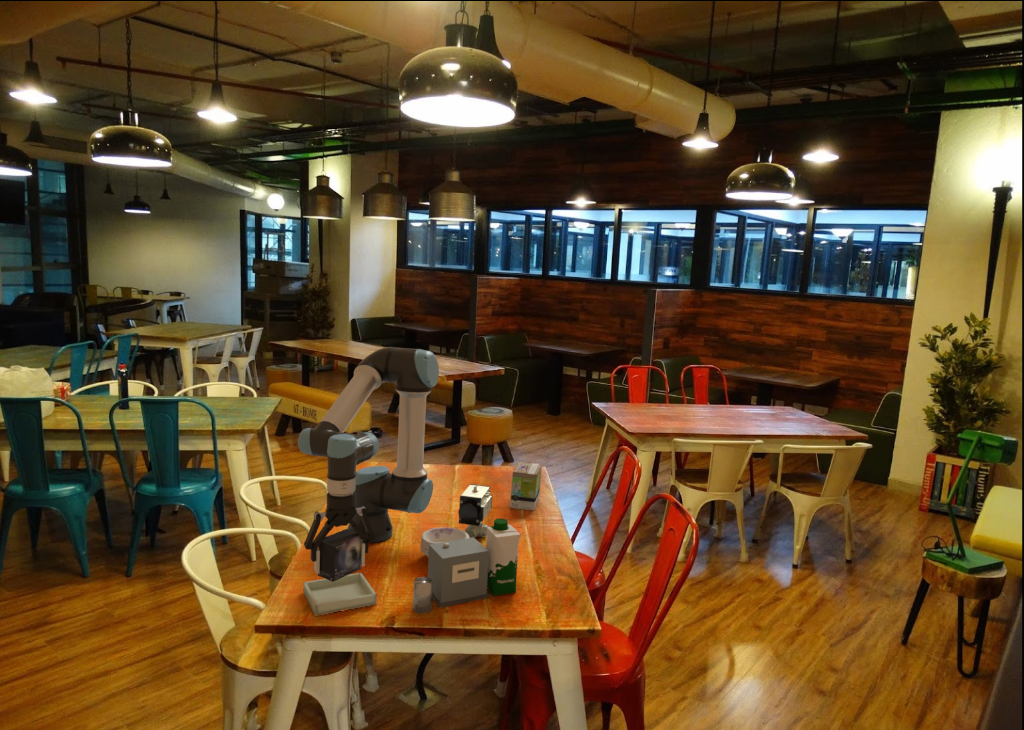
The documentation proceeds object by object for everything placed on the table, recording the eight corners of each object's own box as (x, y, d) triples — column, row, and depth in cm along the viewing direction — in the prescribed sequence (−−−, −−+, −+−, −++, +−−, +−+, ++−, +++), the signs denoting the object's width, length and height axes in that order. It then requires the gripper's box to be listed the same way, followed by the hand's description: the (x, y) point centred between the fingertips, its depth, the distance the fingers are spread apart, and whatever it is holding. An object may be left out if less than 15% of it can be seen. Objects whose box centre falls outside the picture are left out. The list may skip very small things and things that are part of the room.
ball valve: (480, 547, 232) (483, 496, 229) (456, 544, 234) (458, 493, 231) (493, 528, 249) (495, 480, 247) (470, 524, 251) (472, 477, 248)
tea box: (535, 511, 268) (537, 474, 266) (509, 508, 270) (511, 471, 268) (539, 498, 283) (542, 463, 281) (515, 495, 285) (517, 460, 282)
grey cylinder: (410, 606, 191) (411, 578, 190) (427, 602, 194) (428, 575, 192) (416, 614, 187) (417, 586, 186) (434, 611, 189) (435, 583, 188)
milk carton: (508, 580, 210) (511, 516, 207) (520, 593, 202) (524, 528, 198) (480, 584, 206) (483, 519, 203) (492, 598, 198) (495, 531, 195)
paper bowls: (450, 545, 233) (451, 522, 232) (477, 561, 221) (479, 538, 220) (411, 555, 223) (412, 532, 222) (437, 573, 212) (438, 548, 210)
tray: (303, 592, 196) (303, 582, 195) (361, 582, 203) (361, 572, 203) (315, 616, 183) (315, 606, 183) (376, 604, 191) (376, 594, 190)
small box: (333, 583, 186) (334, 545, 184) (316, 576, 189) (317, 539, 188) (362, 569, 195) (362, 533, 193) (345, 563, 198) (345, 527, 197)
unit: (424, 590, 201) (426, 541, 198) (472, 581, 208) (474, 533, 205) (439, 607, 191) (441, 556, 189) (488, 597, 198) (491, 548, 196)
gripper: (298, 501, 180) (297, 581, 183) (388, 491, 191) (386, 566, 194) (292, 492, 186) (291, 569, 189) (379, 483, 198) (377, 556, 201)
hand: (339, 568), depth 192 cm, fingers closed on small box, 12 cm apart
